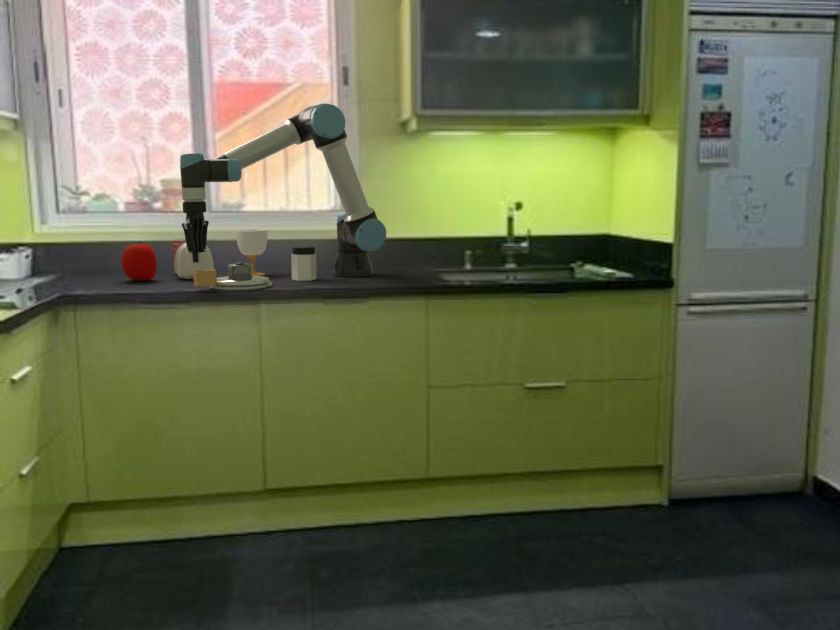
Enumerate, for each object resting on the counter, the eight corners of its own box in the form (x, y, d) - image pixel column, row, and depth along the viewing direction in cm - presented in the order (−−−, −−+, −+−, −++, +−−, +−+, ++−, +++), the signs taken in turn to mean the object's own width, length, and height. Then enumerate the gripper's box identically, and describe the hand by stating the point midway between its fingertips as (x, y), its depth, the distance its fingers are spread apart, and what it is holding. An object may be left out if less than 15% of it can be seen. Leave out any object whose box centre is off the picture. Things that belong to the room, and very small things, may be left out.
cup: (251, 272, 321) (249, 228, 318) (275, 274, 315) (273, 229, 312) (231, 275, 311) (229, 230, 308) (255, 277, 305) (253, 231, 302)
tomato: (164, 279, 299) (162, 240, 297) (146, 283, 288) (144, 243, 286) (134, 278, 302) (132, 239, 300) (115, 282, 292) (113, 242, 289)
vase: (202, 281, 295) (201, 244, 293) (167, 280, 298) (166, 243, 296) (220, 276, 308) (219, 240, 306) (186, 275, 312) (185, 239, 309)
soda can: (194, 274, 314) (193, 240, 312) (175, 275, 312) (173, 240, 309) (192, 272, 321) (191, 238, 318) (173, 273, 318) (171, 239, 316)
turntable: (252, 277, 295) (252, 263, 295) (279, 283, 281) (278, 268, 280) (183, 283, 279) (182, 268, 278) (208, 290, 265) (207, 274, 264)
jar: (320, 279, 300) (319, 246, 297) (301, 281, 294) (300, 248, 292) (307, 277, 306) (306, 245, 304) (288, 279, 301) (287, 246, 299)
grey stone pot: (245, 276, 288) (245, 260, 287) (256, 279, 282) (255, 263, 281) (224, 278, 283) (223, 262, 282) (234, 281, 277) (234, 264, 276)
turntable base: (282, 283, 289) (282, 280, 289) (253, 291, 270) (253, 288, 269) (229, 281, 295) (229, 278, 295) (197, 289, 276) (197, 286, 275)
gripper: (195, 199, 278) (199, 269, 282) (172, 201, 266) (177, 274, 270) (214, 199, 276) (218, 269, 280) (193, 201, 264) (197, 274, 268)
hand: (198, 271), depth 275 cm, fingers closed
